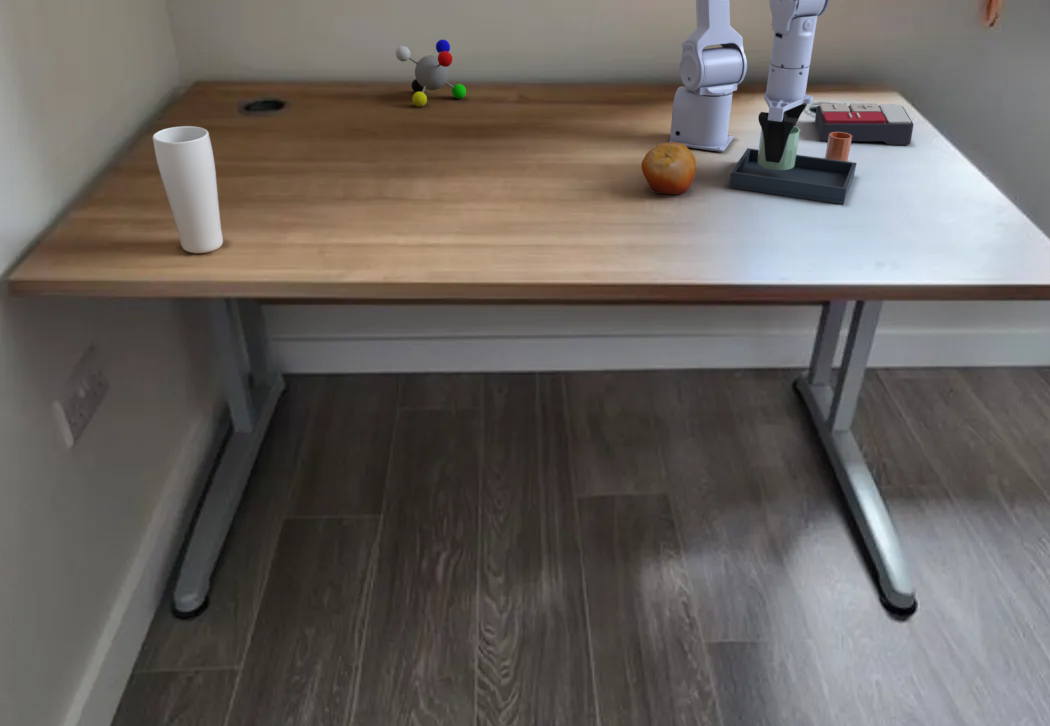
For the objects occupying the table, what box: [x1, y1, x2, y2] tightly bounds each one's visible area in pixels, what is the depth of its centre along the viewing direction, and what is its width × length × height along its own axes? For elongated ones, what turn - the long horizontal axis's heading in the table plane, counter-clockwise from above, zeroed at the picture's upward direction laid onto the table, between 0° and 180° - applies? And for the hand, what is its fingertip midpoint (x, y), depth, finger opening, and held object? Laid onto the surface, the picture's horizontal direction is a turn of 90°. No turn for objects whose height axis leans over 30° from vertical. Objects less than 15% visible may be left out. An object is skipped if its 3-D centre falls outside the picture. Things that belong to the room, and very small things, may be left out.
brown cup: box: [824, 132, 853, 162], centre depth 158 cm, size 4×4×4 cm
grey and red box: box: [814, 102, 915, 146], centre depth 170 cm, size 11×4×15 cm
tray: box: [728, 147, 858, 205], centre depth 151 cm, size 17×12×2 cm
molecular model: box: [395, 39, 467, 108], centre depth 183 cm, size 11×13×10 cm
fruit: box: [640, 142, 697, 195], centre depth 146 cm, size 8×8×8 cm
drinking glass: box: [152, 125, 224, 254], centre depth 124 cm, size 7×7×15 cm
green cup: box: [757, 125, 801, 170], centre depth 149 cm, size 6×6×6 cm
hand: (776, 155), depth 150 cm, fingers closed on green cup, 6 cm apart
